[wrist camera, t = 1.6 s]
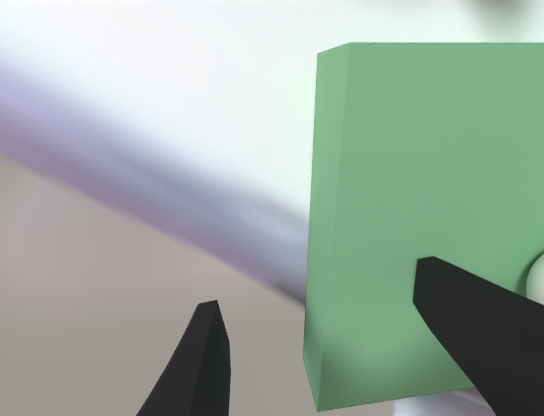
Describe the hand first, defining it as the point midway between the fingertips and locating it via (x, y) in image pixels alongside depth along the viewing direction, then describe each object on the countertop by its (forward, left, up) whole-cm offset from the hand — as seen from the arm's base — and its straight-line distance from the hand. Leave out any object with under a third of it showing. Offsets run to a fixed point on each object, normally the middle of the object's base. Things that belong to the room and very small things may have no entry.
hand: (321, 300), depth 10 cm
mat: (-13, 0, -4) cm, 13 cm away
